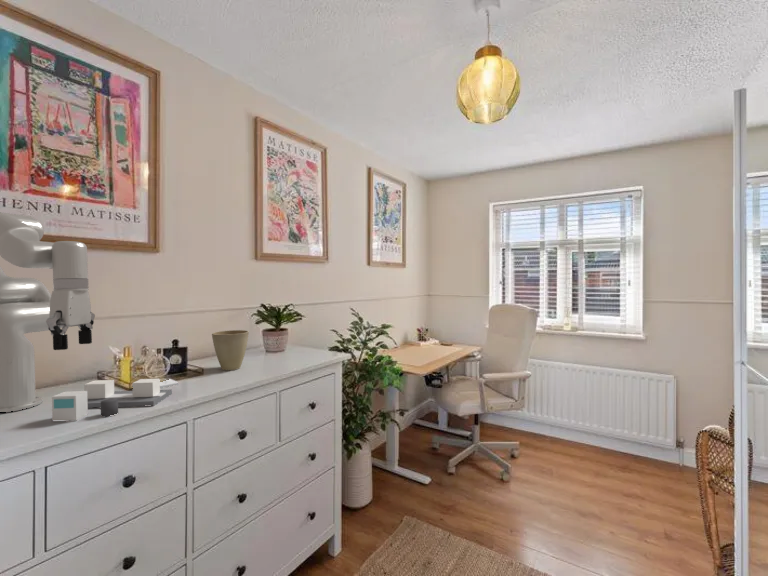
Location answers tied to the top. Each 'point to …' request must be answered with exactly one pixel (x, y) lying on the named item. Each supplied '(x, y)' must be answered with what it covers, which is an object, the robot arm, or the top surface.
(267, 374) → the top surface
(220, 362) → the plant pot
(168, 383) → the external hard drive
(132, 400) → the rail board
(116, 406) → the dark grey cube
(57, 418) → the module
